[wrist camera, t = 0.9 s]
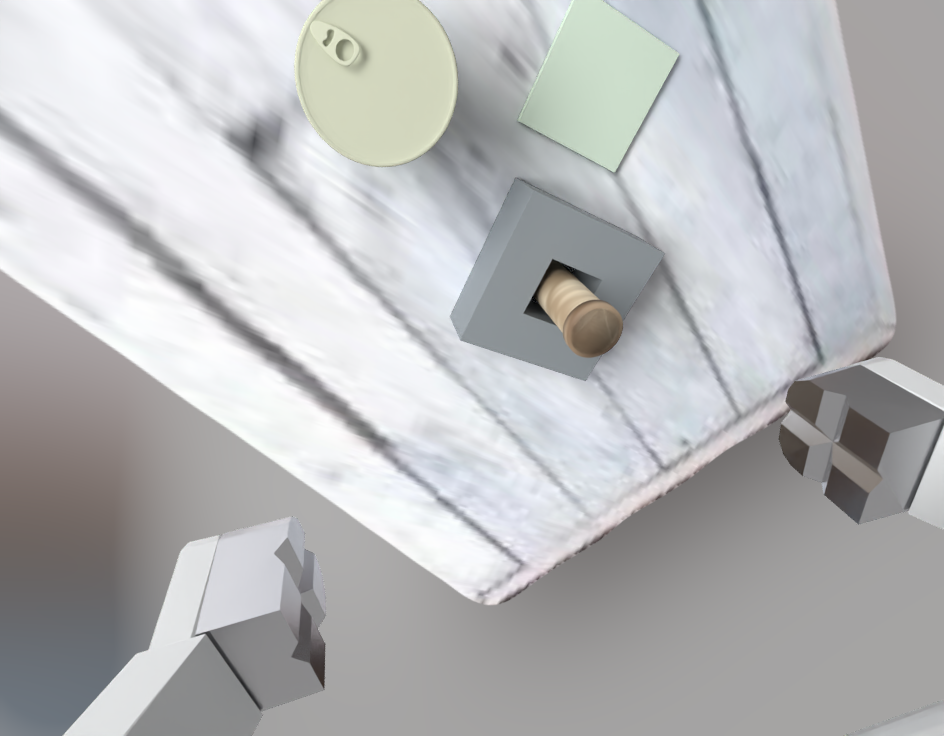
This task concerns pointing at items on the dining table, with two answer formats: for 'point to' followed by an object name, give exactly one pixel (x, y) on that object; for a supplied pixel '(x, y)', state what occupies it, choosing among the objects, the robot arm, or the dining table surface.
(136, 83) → the dining table surface
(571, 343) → the plug
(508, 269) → the socket
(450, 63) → the can
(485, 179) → the dining table surface
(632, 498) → the dining table surface
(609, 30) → the mat
